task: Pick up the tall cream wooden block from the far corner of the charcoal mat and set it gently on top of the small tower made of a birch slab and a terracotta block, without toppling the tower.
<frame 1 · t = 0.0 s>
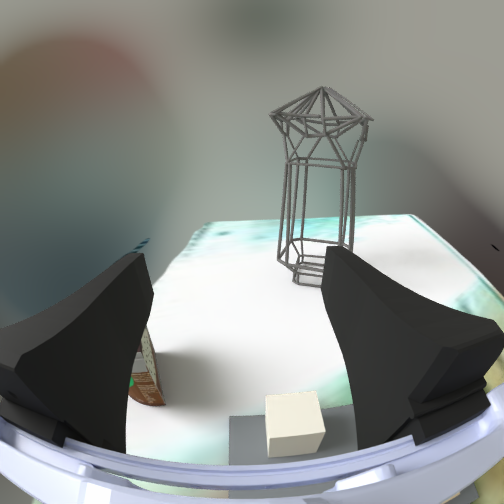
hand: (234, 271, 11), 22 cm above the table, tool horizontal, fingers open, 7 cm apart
food container: (137, 381, 30), on the table
geometric lantern: (316, 276, 53), on the table
top block: (289, 436, 22), point 1 cm above the table, touching mat
mat: (357, 477, 17), on the table
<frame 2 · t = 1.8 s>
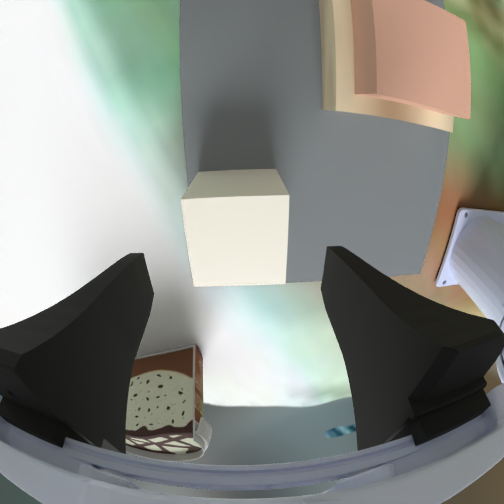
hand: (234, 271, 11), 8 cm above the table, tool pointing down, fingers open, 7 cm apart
food container: (172, 368, 27), on the table
top block: (238, 205, 17), point 1 cm above the table, touching mat
mat: (334, 110, 15), on the table
bottom slab: (382, 58, 12), point 1 cm above the table, touching mat, middle block
middle block: (403, 53, 10), point 3 cm above the table, touching bottom slab
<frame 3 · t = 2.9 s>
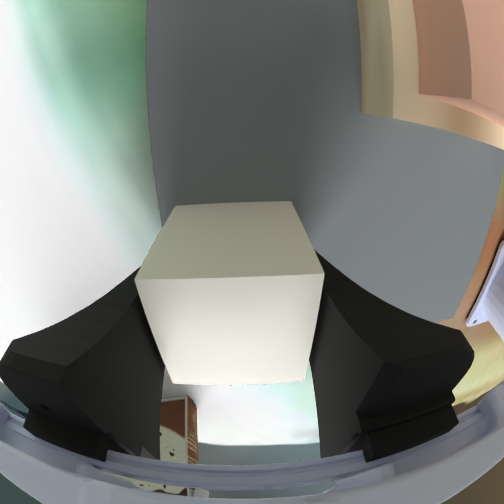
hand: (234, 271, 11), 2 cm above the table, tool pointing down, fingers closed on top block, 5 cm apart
food container: (163, 413, 22), on the table
top block: (235, 253, 12), point 1 cm above the table, touching gripper, mat
mat: (374, 115, 10), on the table
bottom slab: (437, 47, 7), point 1 cm above the table, touching mat, middle block
middle block: (474, 44, 5), point 3 cm above the table, touching bottom slab
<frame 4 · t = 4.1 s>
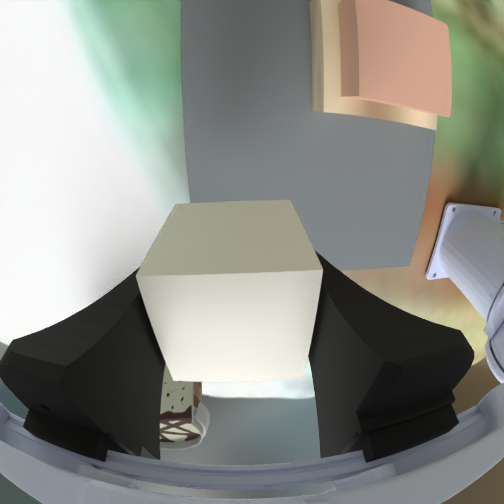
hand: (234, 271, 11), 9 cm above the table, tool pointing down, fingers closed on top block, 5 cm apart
food container: (172, 359, 28), on the table
top block: (235, 251, 12), point 8 cm above the table, touching gripper
mat: (323, 111, 16), on the table
bottom slab: (369, 62, 13), point 1 cm above the table, touching mat, middle block
middle block: (387, 57, 11), point 3 cm above the table, touching bottom slab
when the fingers open (8 cm above the table, at t = 5.7 s): top block stays where it is, resting on middle block.
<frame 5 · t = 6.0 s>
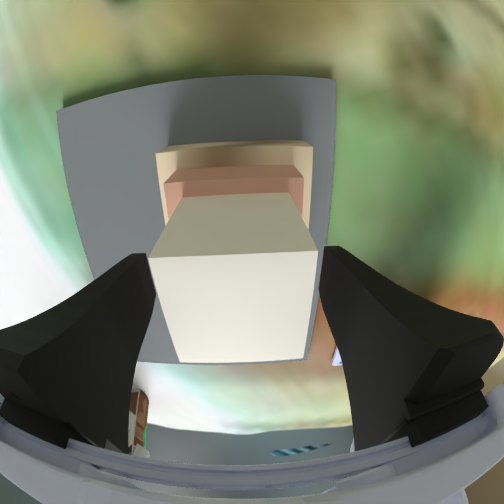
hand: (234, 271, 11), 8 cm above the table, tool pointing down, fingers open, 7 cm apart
food container: (129, 401, 32), on the table
top block: (237, 241, 13), point 6 cm above the table, touching middle block
mat: (198, 254, 20), on the table
bottom slab: (237, 204, 17), point 1 cm above the table, touching mat, middle block
middle block: (236, 220, 15), point 3 cm above the table, touching bottom slab, top block
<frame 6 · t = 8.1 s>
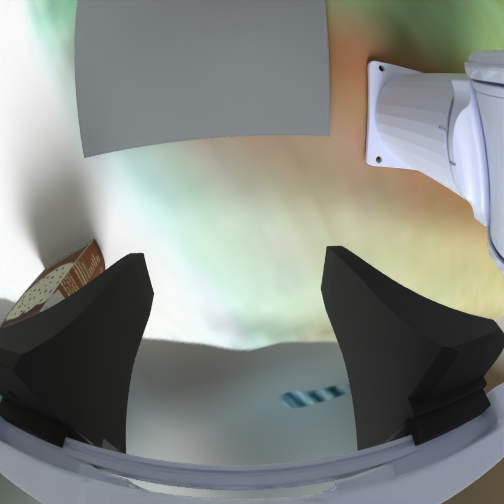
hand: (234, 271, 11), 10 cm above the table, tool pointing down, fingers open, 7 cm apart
food container: (83, 278, 24), on the table
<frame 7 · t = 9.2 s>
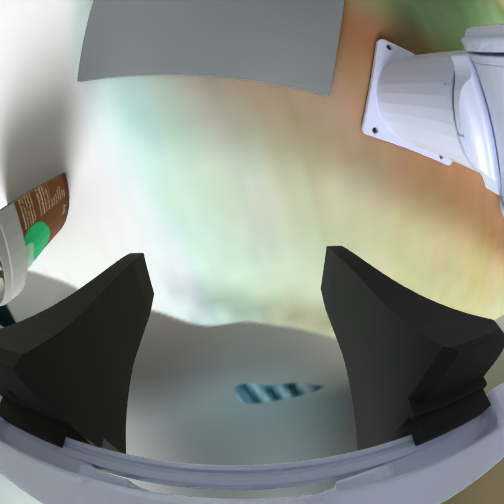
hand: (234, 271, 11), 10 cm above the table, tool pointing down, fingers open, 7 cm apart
food container: (44, 218, 20), on the table
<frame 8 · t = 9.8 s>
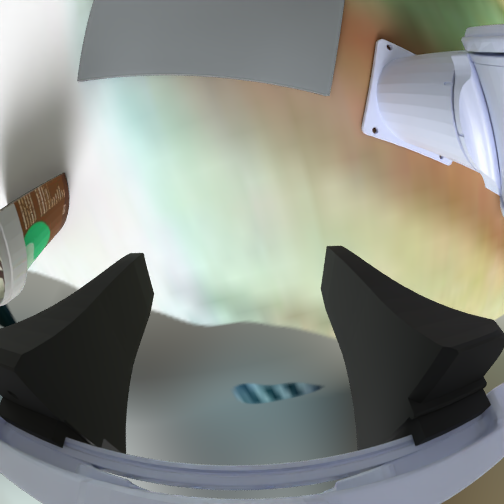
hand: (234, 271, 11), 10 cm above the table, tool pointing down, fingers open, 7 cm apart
food container: (44, 218, 20), on the table
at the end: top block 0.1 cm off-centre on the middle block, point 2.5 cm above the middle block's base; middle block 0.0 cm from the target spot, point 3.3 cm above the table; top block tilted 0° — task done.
